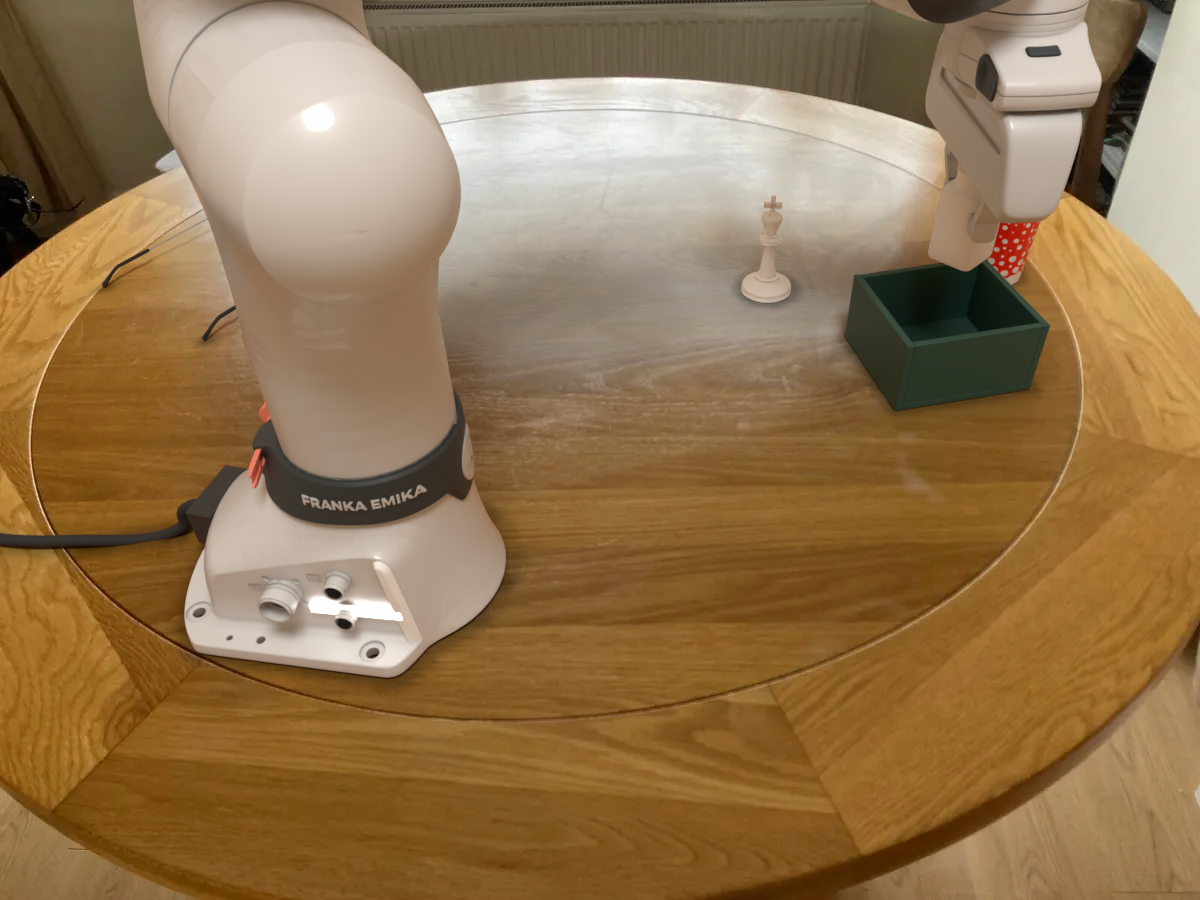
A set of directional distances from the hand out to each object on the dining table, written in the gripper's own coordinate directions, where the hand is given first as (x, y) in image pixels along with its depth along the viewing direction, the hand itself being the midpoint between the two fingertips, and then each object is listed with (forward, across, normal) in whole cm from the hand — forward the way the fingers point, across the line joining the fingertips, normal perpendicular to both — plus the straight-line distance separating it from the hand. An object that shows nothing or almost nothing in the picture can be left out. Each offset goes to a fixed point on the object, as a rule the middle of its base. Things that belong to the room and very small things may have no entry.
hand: (967, 218), depth 76 cm
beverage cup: (+14, -14, +10) cm, 22 cm away
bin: (+14, 0, 0) cm, 14 cm away
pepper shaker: (+4, 0, 0) cm, 4 cm away
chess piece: (+14, -13, -13) cm, 23 cm away
